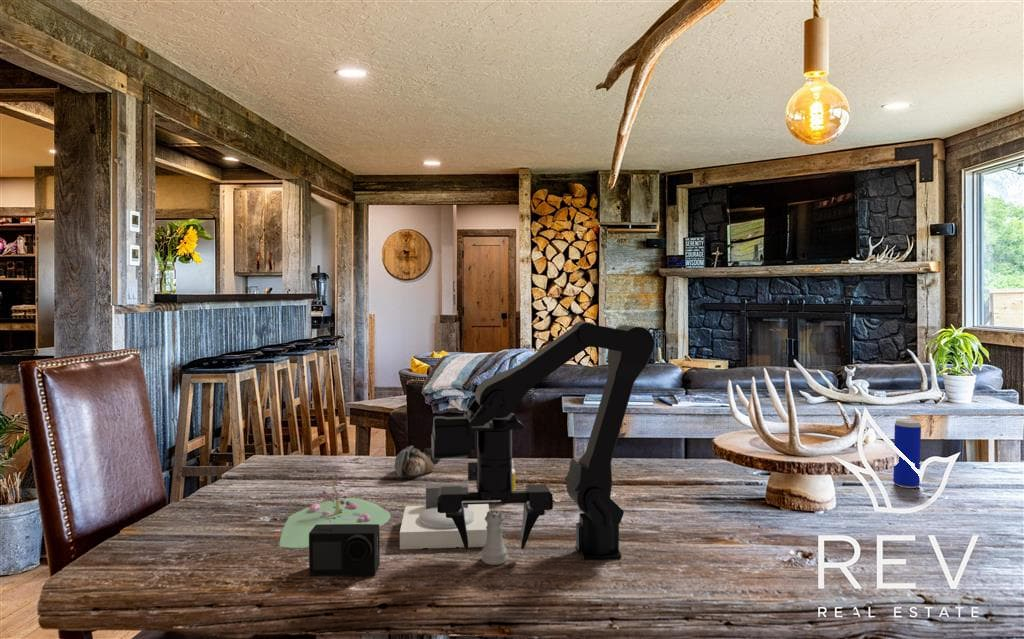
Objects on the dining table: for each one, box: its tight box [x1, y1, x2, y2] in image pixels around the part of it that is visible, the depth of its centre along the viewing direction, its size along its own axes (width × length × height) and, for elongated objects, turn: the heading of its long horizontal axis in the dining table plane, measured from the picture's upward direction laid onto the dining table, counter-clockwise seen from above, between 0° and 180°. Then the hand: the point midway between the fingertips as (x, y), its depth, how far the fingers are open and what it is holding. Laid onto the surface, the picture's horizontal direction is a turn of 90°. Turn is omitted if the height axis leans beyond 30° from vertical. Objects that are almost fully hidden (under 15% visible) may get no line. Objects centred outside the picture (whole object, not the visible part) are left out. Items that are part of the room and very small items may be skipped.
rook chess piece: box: [480, 510, 509, 566], centre depth 112 cm, size 4×4×8 cm
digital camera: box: [308, 524, 381, 577], centre depth 107 cm, size 10×5×7 cm, turn 91°
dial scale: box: [399, 483, 490, 550], centre depth 124 cm, size 16×14×7 cm
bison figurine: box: [394, 445, 442, 477], centre depth 164 cm, size 12×7×10 cm
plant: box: [279, 474, 391, 549], centre depth 129 cm, size 25×21×9 cm
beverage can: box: [892, 418, 922, 489], centre depth 154 cm, size 5×5×15 cm
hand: (494, 549), depth 112 cm, fingers open, 9 cm apart
